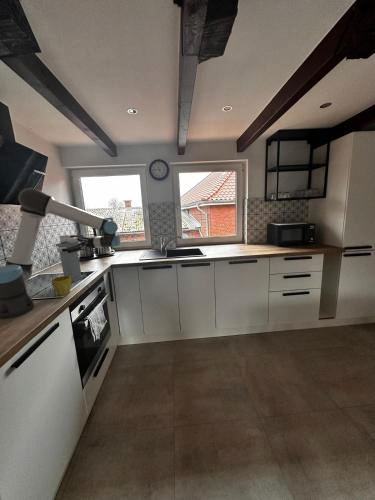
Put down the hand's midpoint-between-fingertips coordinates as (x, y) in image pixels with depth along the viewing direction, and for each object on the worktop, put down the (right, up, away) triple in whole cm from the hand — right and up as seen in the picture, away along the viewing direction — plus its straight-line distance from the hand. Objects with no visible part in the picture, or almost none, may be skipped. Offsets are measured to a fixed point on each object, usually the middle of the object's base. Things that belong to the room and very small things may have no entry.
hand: (62, 245), depth 131 cm
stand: (-4, -25, +19) cm, 32 cm away
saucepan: (-1, +2, +12) cm, 13 cm away
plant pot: (+5, -30, -7) cm, 31 cm away
